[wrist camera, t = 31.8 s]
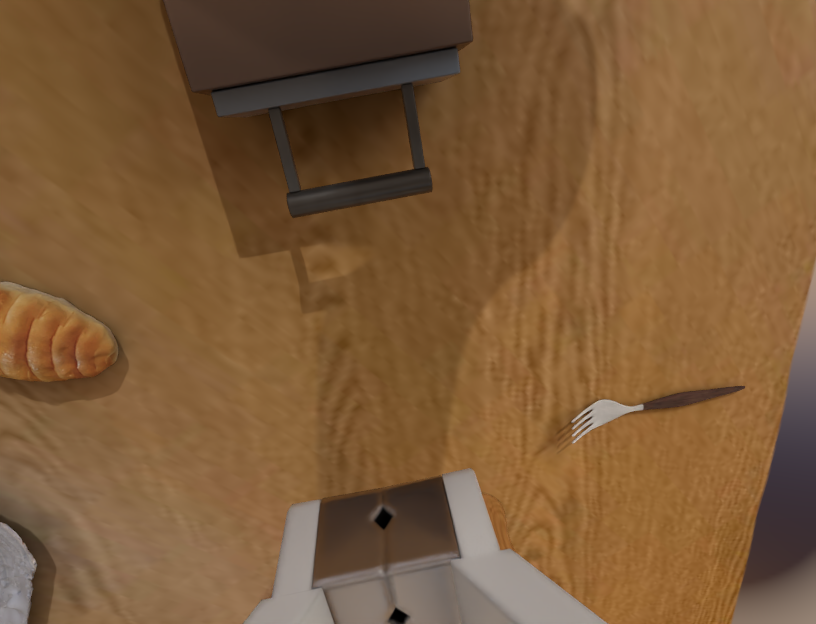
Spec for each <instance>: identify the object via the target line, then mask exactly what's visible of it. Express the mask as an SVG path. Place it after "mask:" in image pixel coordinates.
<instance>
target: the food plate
mask: <svg viewBox="0 0 816 624" xmlns="http://www.w3.org/2000/svg"><path fill="white" fill-rule="evenodd" d="M29 551H30V550H29ZM29 551H28V547H26V545H25V543H23V542H22V539H21V537H19V535H17V533H16V532H15V531H14V530H12V529H11V528H10V527H9V526H8V525H7V524H4V523H1V522H0V624H27V623H28V617H29V613H30V608H31V602H30V601H31V595H32V591H33V589H34V588H33V587H32V582H31V580H32V579H33V577H34V573H35V571H36V567H37V563H36V561H35V560H34V559H35V558H33V556H32V554H31V553H30V552H29ZM33 571H34V572H33ZM32 572H33V576H32Z"/></svg>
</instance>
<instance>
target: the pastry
mask: <svg viewBox="0 0 816 624" xmlns="http://www.w3.org/2000/svg"><path fill="white" fill-rule="evenodd" d="M117 356H118V345H117V342H116V340H115V337H114V335H113V333H112V332H111V330H110V329H109V328H108V327H107V326H105V325H104V324H103V322H100V321H97V320H96V319H95V318H94V317H93V316H91V315H87V314H85V313H83V312H82V311H80V310H79V309H77V308H76V307H75V306H74V305H73V304H72V303H70V302H68V301H66V300H65V299H63V298H57V297H54V296H52V295H50V294H47V293H43V292H40V291H38V290H35V289H29V288H26V287H23V286H21V285H18V284H15V283H11V282H0V376H2V377H5V378H13V379H17V380H27V381H45V382H51V381H55V380H56V381H65V380H67V379H72V378H84V377H94V376H96V375H98V374H99V373H101V372H102V371H104V370H105V369H106V368H107V367H109V366H111V365H113V364H114V363H115V362H116V360H117Z"/></svg>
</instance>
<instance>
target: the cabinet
mask: <svg viewBox="0 0 816 624" xmlns="http://www.w3.org/2000/svg"><path fill="white" fill-rule="evenodd" d="M163 2H164V5H165V8H166V11H167V14H168V18H169V21H170V24H171V27H172V30H173V34H174V37H175V40H176V43H177V46H178V49H179V53H180V56H181V59H182V62H183V65H184V68H185V72H186V75H187V78H188V81H189V84H190V87H191V91H192V92H195V93H201V94H207V95H211V92H212V91H216V90H221V89H227V88H232V87H238V86H243V85H249V84H254V83H260V82H265V81H271V80H276V79H282V78H287V77H293V76H298V75H304V74H310V73H315V72H321V71H326V70H332V69H337V68H343V67H348V66H354V65H359V64H365V63H370V62H376V61H381V60H387V59H392V58H398V57H403V56H409V55H414V54H420V53H425V52H431V51H436V50H442V49H447V48H453V47H457V49H458V51H459V50H461V49H462V48H464V47H465V46H467V45H468V44H469V43H471V42H472V41H473V35H472V25H471V15H470V5H469V0H163Z"/></svg>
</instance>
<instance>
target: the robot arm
mask: <svg viewBox="0 0 816 624" xmlns="http://www.w3.org/2000/svg"><path fill="white" fill-rule="evenodd" d="M243 624H608V623H606V622H605V621H604V620H602V619H601V618H600V617H598V616H597V615H596V614H595V613H593V612H592V611H591V610H589V609H588V608H587V607H586V606H584V605H583V604H582V603H580V602H579V601H578V600H576V599H575V598H574V597H573V596H571V595H570V594H569V593H567V592H566V591H565V590H563V589H562V588H561V587H560V586H558V585H557V584H556V583H554V582H553V581H552V580H551V579H549V578H548V577H547V576H545V575H544V574H543V573H541V572H540V571H539V570H538V569H536V568H535V567H534V566H532V565H531V564H530V563H529V562H527V561H526V560H525V559H523V558H522V557H521V556H519V555H518V554H517V553H516V552H514V551H513V550H512V549H505V550H500V547H499V544H498V541H497V538H496V535H495V532H494V529H493V526H492V523H491V520H490V517H489V514H488V511H487V508H486V505H485V502H484V499H483V496H482V493H481V490H480V487H479V484H478V481H477V478H476V475H475V472H474V471H473V470H472V469H471V468H469V469H464V470H460V471H455V472H451V473H446V474H442V477H441V475H439V476H435V477H430V478H425V479H420V480H416V481H411V482H406V483H401V484H397V485H392V486H387V487H383V488H378V489H372V490H366V491H361V492H355V493H350V494H344V495H338V496H333V497H327V498H323V499H320V500H314V501H308V502H303V503H297V504H292V505H291V507H290V509H289V510H288V512H287V516H286V522H285V527H284V533H283V538H282V544H281V549H280V554H279V560H278V565H277V571H276V576H275V581H274V587H273V592H272V598H269V599H264V600H261V601H260V602H259V604H258V605H257V606H256V608H255V609H254V610H253V611H252V613H251V614H250V615H249V616H248V618H247V619H246V620H245V621H244V623H243Z"/></svg>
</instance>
